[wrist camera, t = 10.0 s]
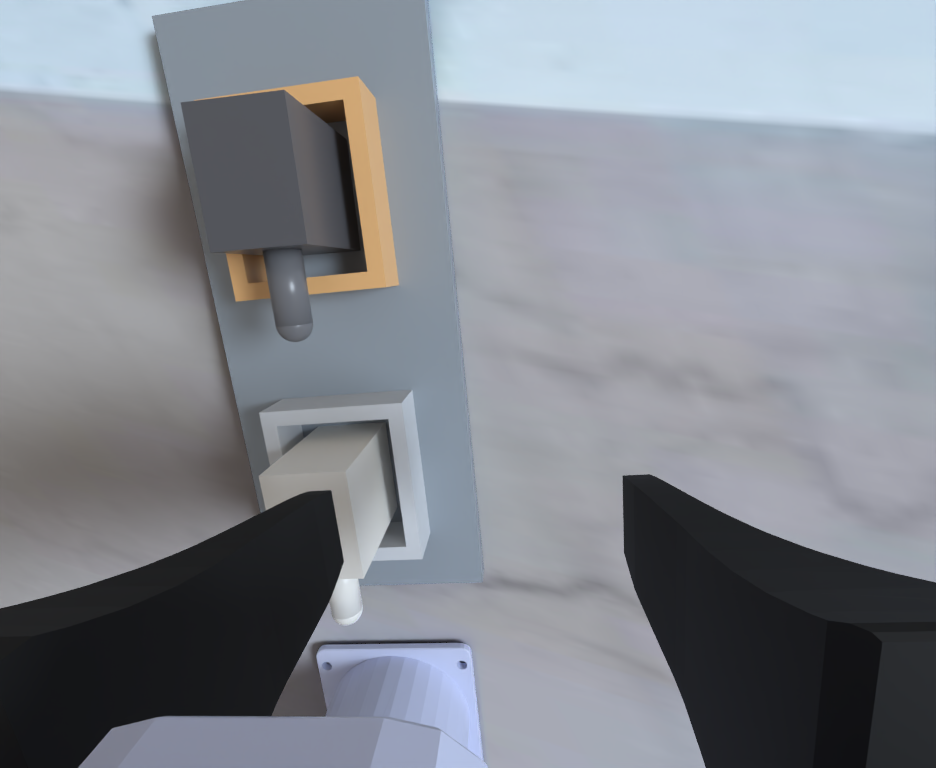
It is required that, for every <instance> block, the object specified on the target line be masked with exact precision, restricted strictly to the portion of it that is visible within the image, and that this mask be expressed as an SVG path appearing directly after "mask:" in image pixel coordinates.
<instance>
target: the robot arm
mask: <svg viewBox="0 0 936 768" xmlns="http://www.w3.org/2000/svg"><path fill="white" fill-rule="evenodd" d="M623 518H624V554H625V557H626V561H627V564H628V568H629V571H630V575H631V578H632V581H633V584H634V588H635V591H636V593H637V595H638V598H639V600H640V602H641V605H642V607H643V609H644V611H645V614H646V616H647V618H648V620H649V623H650V625H651V627H652V629H653V632H654V634H655V636H656V638H657V640H658V643H659V645H660V647H661V649H662V652H663V654H664V656H665V658H666V661H667V663H668V665H669V667H670V669H671V672H672V674H673V676H674V678H675V681H676V683H677V686H678V688H679V691H680V693H681V696H682V698H683V701H684V703H685V706H686V709H687V712H688V715H689V718H690V721H691V724H692V727H693V730H694V733H695V736H696V739H697V742H698V745H699V748H700V751H701V754H702V757H703V760H704V763H705V766H706V768H936V583H935V582H930V581H926V580H922V579H917V578H913V577H908V576H904V575H900V574H895V573H891V572H887V571H884V570H880V569H876V568H872V567H868V566H864V565H861V564H858V563H854V562H851V561H847V560H844V559H841V558H837V557H834V556H831V555H827V554H824V553H821V552H818V551H815V550H812V549H809V548H806V547H803V546H800V545H798V544H795V543H792V542H790V541H787V540H784V539H782V538H779V537H777V536H774V535H771V534H769V533H766V532H764V531H762V530H759V529H757V528H754V527H752V526H750V525H748V524H746V523H744V522H741V521H739V520H737V519H735V518H733V517H731V516H729V515H726V514H724V513H722V512H720V511H718V510H716V509H714V508H713V507H711V506H709V505H707V504H705V503H703V502H701V501H699V500H697V499H696V498H694V497H692V496H690V495H688V494H686V493H685V492H683V491H681V490H679V489H677V488H676V487H674V486H672V485H670V484H668V483H666V482H665V481H663V480H661V479H659V478H657V477H655V476H652V475H649V474H648V475H628V476H623ZM343 563H344V559H343V553H342V547H341V542H340V536H339V531H338V525H337V519H336V514H335V508H334V502H333V497H332V491H331V490H324V491H308V492H305V493H302V494H299V495H297V496H294V497H292V498H290V499H288V500H286V501H284V502H282V503H280V504H278V505H276V506H274V507H272V508H270V509H268V510H266V511H264V512H262V513H260V514H258V515H256V516H254V517H252V518H250V519H248V520H246V521H244V522H242V523H241V524H239V525H237V526H235V527H232V528H230V529H228V530H226V531H224V532H222V533H220V534H218V535H216V536H214V537H212V538H210V539H207V540H205V541H203V542H201V543H199V544H197V545H195V546H193V547H190V548H188V549H186V550H183V551H181V552H179V553H176V554H174V555H172V556H169V557H166V558H164V559H161V560H159V561H156V562H154V563H151V564H149V565H146V566H143V567H141V568H138V569H135V570H132V571H129V572H126V573H123V574H120V575H117V576H114V577H111V578H108V579H105V580H102V581H99V582H96V583H93V584H90V585H87V586H84V587H80V588H77V589H74V590H70V591H66V592H63V593H59V594H56V595H52V596H49V597H45V598H41V599H37V600H33V601H29V602H25V603H22V604H18V605H13V606H9V607H5V608H1V609H0V768H488V767H487V765H486V763H485V762H484V759H483V750H482V741H481V732H480V723H479V714H478V705H477V696H476V687H475V678H474V669H473V660H472V651H471V648H470V647H469V646H468V645H467V644H465V643H412V644H334V645H322V646H321V647H320V648H319V650H318V652H317V654H316V659H317V664H318V669H319V674H320V678H321V683H322V688H323V693H324V698H325V703H326V708H327V713H326V715H325V717H310V716H271V715H272V713H273V711H274V708H275V706H276V703H277V701H278V699H279V697H280V695H281V693H282V691H283V689H284V687H285V684H286V682H287V680H288V679H289V677H290V675H291V673H292V671H293V669H294V667H295V665H296V664H297V662H298V660H299V658H300V656H301V654H302V652H303V650H304V649H305V647H306V645H307V643H308V641H309V639H310V637H311V635H312V634H313V632H314V630H315V628H316V626H317V624H318V622H319V620H320V618H321V616H322V614H323V613H324V611H325V609H326V607H327V605H328V603H329V601H330V599H331V597H332V594H333V591H334V589H335V586H336V583H337V581H338V578H339V575H340V572H341V569H342V566H343ZM459 661H464V662H466V663H460V662H459ZM326 662H329V663H330V664H328V663H326Z"/></svg>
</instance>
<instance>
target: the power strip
mask: <svg viewBox="0 0 936 768" xmlns="http://www.w3.org/2000/svg"><path fill="white" fill-rule="evenodd" d="M152 19H153V24H154V28H155V33H156V37H157V42H158V46H159V51H160V56H161V60H162V65H163V69H164V74H165V78H166V83H167V88H168V92H169V97H170V101H171V106H172V110H173V115H174V120H175V124H176V129H177V133H178V138H179V142H180V147H181V152H182V156H183V161H184V165H185V170H186V174H187V179H188V184H189V188H190V193H191V197H192V202H193V206H194V211H195V216H196V220H197V225H198V229H199V234H200V238H201V243H202V248H203V252H204V257H205V261H206V266H207V271H208V275H209V280H210V284H211V289H212V293H213V298H214V303H215V307H216V312H217V316H218V321H219V325H220V330H221V335H222V339H223V344H224V348H225V353H226V357H227V362H228V367H229V371H230V376H231V380H232V385H233V389H234V394H235V399H236V403H237V408H238V412H239V417H240V421H241V426H242V431H243V435H244V440H245V444H246V449H247V453H248V458H249V463H250V467H251V472H252V476H253V481H254V485H255V490H256V495H257V499H258V504H259V508H260V513H262V512H264V511H266V510H268V509H270V508H272V507H274V506H276V505H278V504H280V503H282V502H284V501H286V500H288V499H290V498H292V497H294V496H297V495H299V494H302V493H305V492H308V491H324V490H331V491H332V497H333V502H334V508H335V514H336V519H337V525H338V531H339V536H340V542H341V547H342V553H343V559H344V563H343V566H342V569H341V572H340V575H339V578H338V581H337V583H336V586H335V589H334V591H333V594H332V597H331V599H330V601H329V603H330V608H331V614H332V617H333V619H334V620H335V621H336V622H337V623H338V624H340V625H343V626H346V625H351V624H353V623H355V622H356V621H357V620H358V619H359V618H360V616H361V614H362V610H363V603H362V597H361V591H360V586H361V585H398V584H436V583H473V582H483V573H484V565H483V555H482V545H481V534H480V524H479V514H478V504H477V494H476V484H475V474H474V463H473V453H472V443H471V433H470V423H469V413H468V403H467V392H466V382H465V372H464V362H463V352H462V342H461V331H460V321H459V311H458V301H457V291H456V281H455V271H454V260H453V250H452V240H451V230H450V220H449V210H448V200H447V189H446V179H445V169H444V159H443V149H442V139H441V129H440V118H439V108H438V98H437V88H436V78H435V68H434V58H433V47H432V37H431V27H430V17H429V7H428V0H244V1H238V2H232V3H226V4H221V5H215V6H209V7H203V8H197V9H191V10H185V11H179V12H173V13H167V14H161V15H155V16H152ZM278 90H285V91H286V92H288V93H289V94H290V95H291V96H293V97H294V98H295V99H297V100H298V101H299V102H300V103H302V104H303V105H304V106H305V107H307V108H308V109H309V110H310V111H312V112H313V113H314V114H315V115H317V116H318V117H319V118H320V119H322V120H323V121H324V122H325V123H327V124H328V125H329V126H330V127H332V128H333V129H334V130H336V131H337V132H338V133H339V134H341V135H342V136H343V137H344V138H346V139H347V145H348V153H349V161H350V169H351V177H352V185H353V193H354V201H355V209H356V217H357V225H358V233H359V241H360V249H361V250H360V251H349V252H337V253H325V254H313V255H303V260H304V266H305V273H306V279H307V286H308V292H309V299H310V305H311V312H312V318H313V330H312V333H311V334H310V336H309V337H308V338H306V339H305V340H303V341H300V342H290V341H287V340H285V339H283V338H282V337H281V336H280V335H279V334H278V332H277V330H276V326H275V321H274V315H273V309H272V304H271V298H270V292H269V286H268V280H267V275H266V269H265V263H264V257H263V255H247V254H229V253H210V249H209V244H208V239H207V234H206V229H205V223H204V218H203V213H202V208H201V203H200V198H199V193H198V188H197V183H196V178H195V173H194V168H193V163H192V158H191V153H190V148H189V143H188V138H187V133H186V128H185V123H184V118H183V113H182V108H181V102H188V101H196V100H204V99H213V98H221V97H229V96H237V95H245V94H253V93H261V92H269V91H278Z"/></svg>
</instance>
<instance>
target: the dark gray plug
mask: <svg viewBox="0 0 936 768" xmlns="http://www.w3.org/2000/svg"><path fill="white" fill-rule="evenodd" d="M181 108H182V113H183V118H184V123H185V128H186V133H187V138H188V143H189V148H190V153H191V158H192V163H193V168H194V173H195V178H196V183H197V188H198V193H199V198H200V203H201V208H202V213H203V218H204V223H205V229H206V234H207V239H208V244H209V249H210V253H229V254H247V255H263V257H264V263H265V269H266V275H267V280H268V286H269V292H270V298H271V304H272V309H273V315H274V321H275V326H276V330H277V332H278V334H279V335H280V336H281V337H282V338H283V339H285V340H287V341H290V342H300V341H303V340H305V339H306V338H308V337H309V336H310V334H311V333H312V330H313V318H312V312H311V305H310V299H309V292H308V286H307V279H306V273H305V266H304V260H303V255H313V254H325V253H337V252H349V251H360V250H361V249H360V241H359V233H358V225H357V217H356V209H355V201H354V193H353V185H352V177H351V169H350V161H349V153H348V145H347V139H346V138H344V137H343V136H342V135H341V134H339V133H338V132H337V131H336V130H334V129H333V128H332V127H330V126H329V125H328V124H327V123H325V122H324V121H323V120H322V119H320V118H319V117H318V116H317V115H315V114H314V113H313V112H312V111H310V110H309V109H308V108H307V107H305V106H304V105H303V104H302V103H300V102H299V101H298V100H297V99H295V98H294V97H293V96H291V95H290V94H289V93H288V92H286V91H285V90H278V91H269V92H261V93H253V94H245V95H237V96H229V97H221V98H213V99H204V100H196V101H188V102H181Z"/></svg>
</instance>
